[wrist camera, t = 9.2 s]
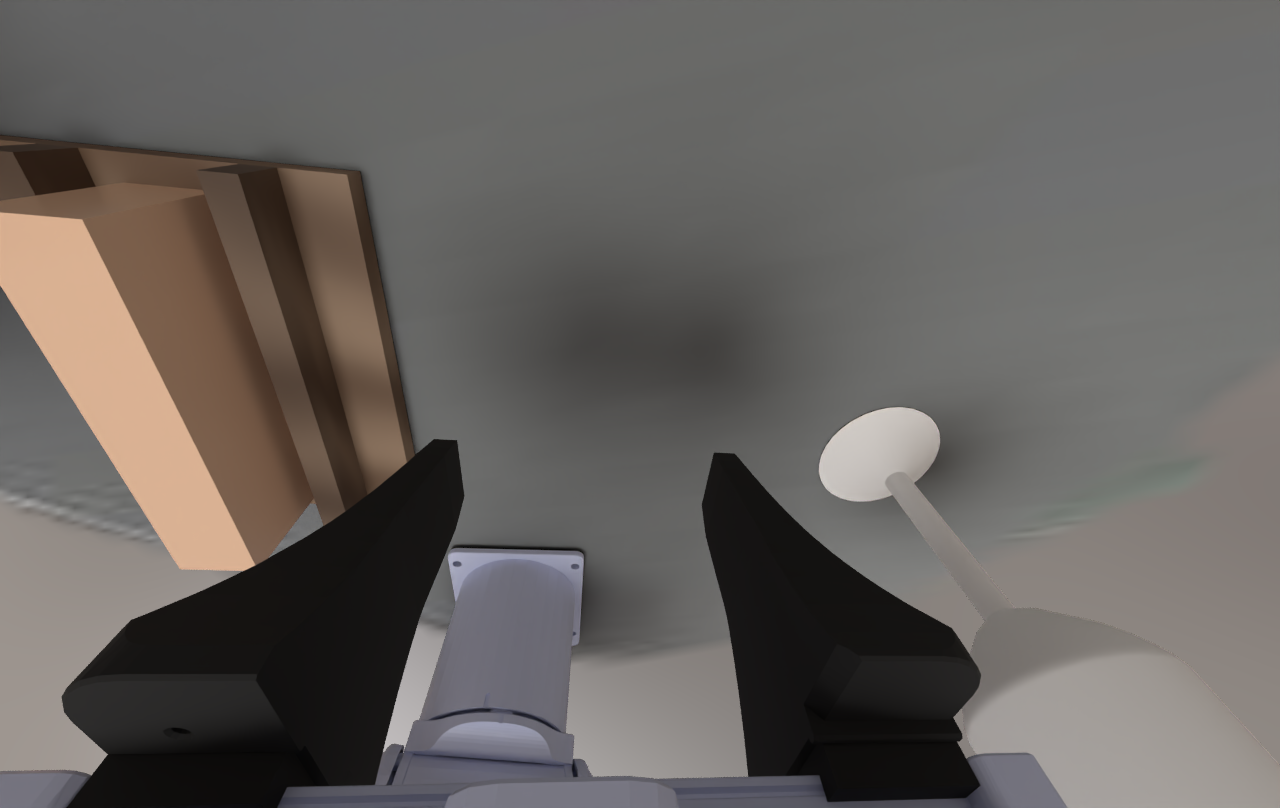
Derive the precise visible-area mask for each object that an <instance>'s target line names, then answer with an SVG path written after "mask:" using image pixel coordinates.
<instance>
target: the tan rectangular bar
mask: <svg viewBox="0 0 1280 808" xmlns="http://www.w3.org/2000/svg"><path fill="white" fill-rule="evenodd" d="M0 286H1V287H2V289H3V290H4V292H5V294H6V295H7V297H8V298H9V300H10V301H11V303H12V305H13V306H14V308H15V309H16V311H17V312H18V314H19V316H20V317H21V319H22V320H23V322H24V324H25V325H26V327H27V328H28V330H29V331H30V333H31V335H32V336H33V338H34V339H35V341H36V342H37V344H38V346H39V347H40V349H41V350H42V352H43V354H44V355H45V357H46V358H47V360H48V361H49V363H50V365H51V366H52V368H53V369H54V371H55V372H56V374H57V376H58V377H59V379H60V380H61V382H62V384H63V385H64V387H65V388H66V390H67V391H68V393H69V395H70V396H71V398H72V399H73V401H74V403H75V404H76V406H77V407H78V409H79V410H80V412H81V414H82V415H83V417H84V418H85V420H86V421H87V423H88V425H89V426H90V428H91V429H92V431H93V433H94V434H95V436H96V437H97V439H98V440H99V442H100V444H101V445H102V447H103V448H104V450H105V451H106V453H107V455H108V456H109V458H110V459H111V461H112V463H113V464H114V466H115V467H116V469H117V470H118V472H119V474H120V475H121V477H122V478H123V480H124V481H125V483H126V485H127V486H128V488H129V489H130V491H131V493H132V494H133V496H134V497H135V499H136V500H137V502H138V504H139V505H140V507H141V508H142V510H143V511H144V513H145V515H146V516H147V518H148V519H149V521H150V523H151V524H152V526H153V527H154V529H155V530H156V532H157V534H158V535H159V537H160V538H161V540H162V542H163V543H164V545H165V546H166V548H167V549H168V551H169V553H170V554H171V556H172V557H173V559H174V560H175V562H176V563H177V565H178V567H179V568H180V569H187V570H236V571H245V570H247V569H249V568H251V567H253V566H255V565H257V564H259V563H261V562H262V561H264V560H266V559H268V557H269V556H270V555H271V554H272V552H273V551H274V550H275V548H276V547H277V546H278V544H279V543H280V542H281V540H282V539H283V538H284V537H285V535H286V534H287V533H288V531H289V530H290V529H291V527H292V526H293V525H294V523H295V522H296V521H297V520H298V518H299V517H300V516H301V514H302V513H303V512H304V510H305V509H306V508H307V506H308V505H309V504H310V503H311V501H312V500H313V499H314V497H313V494H312V491H311V489H310V486H309V483H308V480H307V478H306V475H305V472H304V469H303V466H302V464H301V461H300V458H299V455H298V453H297V450H296V447H295V444H294V442H293V439H292V436H291V433H290V430H289V428H288V425H287V422H286V419H285V417H284V414H283V411H282V408H281V405H280V403H279V400H278V397H277V394H276V392H275V389H274V386H273V383H272V380H271V378H270V375H269V372H268V369H267V367H266V364H265V361H264V358H263V355H262V353H261V350H260V347H259V344H258V342H257V339H256V336H255V333H254V331H253V328H252V325H251V322H250V319H249V317H248V314H247V311H246V308H245V306H244V303H243V300H242V297H241V294H240V292H239V289H238V286H237V283H236V281H235V278H234V275H233V272H232V269H231V267H230V264H229V261H228V258H227V256H226V253H225V250H224V247H223V244H222V242H221V239H220V236H219V233H218V231H217V228H216V225H215V222H214V220H213V217H212V214H211V211H210V208H209V206H208V203H207V200H206V197H205V195H204V192H203V190H198V189H188V188H177V187H166V186H156V185H145V184H134V183H117V184H111V185H104V186H97V187H90V188H84V189H77V190H70V191H64V192H57V193H50V194H43V195H37V196H30V197H23V198H16V199H10V200H3V201H0Z"/></svg>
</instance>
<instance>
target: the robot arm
mask: <svg viewBox="0 0 1280 808" xmlns="http://www.w3.org/2000/svg"><path fill="white" fill-rule="evenodd" d="M463 499H464V490H463V482H462V475H461V467H460V460H459V452H458V444H457V440H439V439H434V440H433V441H431V442H430V443H429V444H428V445H427V446H425V447H424V448H423V449H422V450H421V451H420V452H418V453H417V454H416V455H415V456H414V457H413V458H411V459H410V460H409V461H408V462H407V463H406V464H405V465H403V466H402V467H401V468H400V469H399V470H398V471H396V472H395V473H394V474H393V475H392V476H390V477H389V478H388V479H387V480H385V481H384V482H383V483H382V484H381V485H379V486H378V487H377V488H376V489H374V490H373V491H372V492H371V493H369V494H368V495H367V496H365V497H364V498H363V499H361V500H360V501H359V502H357V503H356V504H355V505H353V506H352V507H351V508H349V509H348V510H347V511H345V512H344V513H342V514H341V515H339V516H338V517H336V518H335V519H333V520H332V521H331V522H329V523H327V524H326V525H324V526H323V527H321V528H320V529H318V530H316V531H315V532H313V533H312V534H310V535H308V536H307V537H305V538H304V539H302V540H300V541H298V542H297V543H295V544H293V545H291V546H289V547H288V548H286V549H284V550H282V551H280V552H279V553H277V554H275V555H273V556H271V557H270V558H268V559H266V560H264V561H262V562H261V563H259V564H257V565H255V566H253V567H251V568H249V569H247V570H245V571H243V572H241V573H239V574H237V575H235V576H233V577H230V578H228V579H226V580H224V581H222V582H220V583H218V584H216V585H213V586H211V587H209V588H207V589H205V590H203V591H200V592H198V593H196V594H193V595H191V596H189V597H187V598H184V599H182V600H179V601H177V602H174V603H172V604H170V605H167V606H165V607H162V608H160V609H158V610H155V611H153V612H150V613H148V614H145V615H143V616H140V617H138V618H135V619H132V620H131V621H130V622H129V623H128V624H127V625H126V626H125V627H124V628H123V629H122V630H121V631H120V632H119V633H118V634H117V635H116V636H115V637H114V638H113V639H112V640H111V642H110V643H109V644H108V645H107V646H106V647H105V648H104V649H103V650H102V651H101V652H100V653H99V654H98V655H97V656H96V658H95V659H94V660H93V661H92V662H91V663H90V664H89V665H88V666H87V667H86V668H85V669H84V670H83V671H82V672H81V673H80V674H79V676H78V677H77V678H76V679H75V680H74V681H73V682H72V683H71V684H70V685H69V686H68V687H67V689H66V690H65V692H64V694H63V695H62V702H63V708H64V712H65V713H66V715H67V716H68V717H69V719H70V720H71V721H72V722H73V723H74V724H75V725H76V726H77V727H78V728H79V729H80V730H82V731H83V732H84V733H85V734H86V735H87V736H88V737H89V738H91V739H92V740H93V741H94V742H95V743H96V744H97V745H98V746H99V747H100V748H102V749H103V750H104V751H105V752H106V753H107V754H108V755H107V756H106V758H105V759H104V760H103V762H102V763H101V764H100V765H99V767H98V768H97V769H96V771H95V772H94V773H93V775H92V776H91V775H89V774H86V773H82V772H78V771H70V770H40V771H39V770H35V771H1V772H0V808H1068V807H1067V806H1066V804H1065V803H1064V801H1063V800H1062V798H1061V797H1060V795H1059V794H1058V792H1057V790H1056V789H1055V787H1054V786H1053V784H1052V783H1051V781H1050V780H1049V778H1048V777H1047V775H1046V774H1045V772H1044V771H1043V769H1042V768H1041V766H1040V765H1039V763H1038V762H1037V760H1036V758H1035V757H1034V756H1033V755H1032V754H1030V753H984V754H977V755H974V756H971V757H968V758H967V759H966V758H965V756H964V754H963V752H962V750H961V748H960V747H959V745H958V743H957V741H960V740H961V739H962V733H961V731H960V729H959V727H958V726H957V724H956V722H955V720H954V718H953V717H954V716H955V715H956V714H957V713H958V712H959V710H960V709H961V708H962V707H963V706H964V705H965V704H966V703H967V702H968V701H969V700H970V698H971V697H972V696H973V695H974V694H975V692H976V691H977V689H978V688H979V684H980V679H981V673H980V671H979V668H978V666H977V665H976V663H975V662H974V660H973V659H972V657H971V656H970V654H969V653H968V652H967V650H966V648H965V647H964V645H963V644H962V642H961V641H960V639H959V638H958V636H957V635H956V633H955V632H954V631H953V629H952V628H950V627H949V626H946V625H945V624H943V623H941V622H939V621H938V620H936V619H934V618H932V617H930V616H929V615H927V614H925V613H923V612H921V611H919V610H918V609H916V608H914V607H912V606H910V605H908V604H907V603H905V602H903V601H902V600H900V599H899V598H897V597H895V596H894V595H892V594H890V593H889V592H887V591H886V590H884V589H882V588H881V587H879V586H878V585H876V584H875V583H873V582H872V581H870V580H869V579H867V578H866V577H864V576H863V575H861V574H860V573H859V572H857V571H856V570H855V569H853V568H852V567H850V566H849V565H848V564H846V563H845V562H843V561H842V560H841V559H840V558H838V557H837V556H836V555H834V554H833V553H832V552H831V551H829V550H828V549H827V548H826V547H825V546H823V545H822V544H821V543H820V542H819V541H817V540H816V539H815V538H814V537H813V536H812V535H810V534H809V533H808V532H807V531H806V530H805V529H804V528H803V527H802V526H801V525H800V524H799V523H798V522H796V521H795V520H794V519H793V518H792V517H791V516H790V515H789V514H788V513H787V512H786V511H785V510H784V509H783V508H782V507H781V506H780V505H779V504H778V502H777V501H776V500H775V499H774V498H773V497H772V496H771V495H770V494H769V493H768V492H767V491H766V489H765V488H764V487H763V486H762V485H761V484H760V483H759V481H758V480H757V479H756V478H755V477H754V476H753V475H752V473H751V472H750V471H749V470H748V469H747V467H746V466H745V465H744V464H743V463H742V462H741V460H740V459H739V458H738V457H737V456H736V455H735V454H731V453H714V455H713V459H712V464H711V468H710V472H709V476H708V481H707V485H706V489H705V494H704V498H703V502H702V510H703V518H704V526H705V533H706V538H707V542H708V546H709V550H710V554H711V558H712V561H713V565H714V569H715V573H716V576H717V580H718V584H719V588H720V591H721V595H722V599H723V602H724V606H725V611H726V615H727V620H728V625H729V631H730V637H731V643H732V649H733V656H734V662H735V669H736V676H737V683H738V690H739V698H740V706H741V714H742V722H743V730H744V739H745V748H746V758H747V768H748V777H723V778H722V777H721V778H720V777H719V778H673V779H653V778H644V777H632V776H611V777H609V776H607V777H593V776H592V775H591V773H590V771H589V770H588V766H587V764H586V763H585V761H584V760H582V759H573V748H574V747H573V746H574V736H573V735H572V734H566V720H567V707H568V693H569V678H570V665H571V651H572V646H574V645H577V644H578V643H579V636H580V618H581V600H582V583H583V565H584V555H583V554H582V553H581V552H579V551H557V550H518V549H479V548H454V549H451V550H450V552H449V554H448V562H449V567H450V573H451V579H452V585H453V591H454V597H455V602H456V604H455V607H454V611H453V614H452V617H451V620H450V623H449V627H448V630H447V633H446V636H445V639H444V643H443V646H442V649H441V652H440V655H439V658H438V662H437V665H436V668H435V671H434V674H433V678H432V681H431V684H430V687H429V690H428V694H427V697H426V700H425V703H424V706H423V709H422V713H421V716H420V719H419V720H416V721H414V722H413V725H412V729H411V731H410V735H409V738H408V741H407V744H406V747H405V750H404V746H403V745H398V744H391V745H390V746H389V747H388V748H387V749H386V751H385V752H383V749H384V744H385V740H386V736H387V732H388V728H389V725H390V721H391V717H392V713H393V709H394V705H395V702H396V698H397V694H398V690H399V687H400V683H401V680H402V676H403V672H404V668H405V665H406V661H407V658H408V655H409V651H410V648H411V644H412V641H413V638H414V635H415V631H416V628H417V625H418V621H419V618H420V615H421V613H422V610H423V607H424V605H425V602H426V599H427V597H428V595H429V592H430V590H431V587H432V585H433V583H434V580H435V578H436V575H437V573H438V571H439V568H440V566H441V563H442V561H443V559H444V556H445V554H446V551H447V549H448V546H449V544H450V542H451V539H452V537H453V534H454V532H455V529H456V526H457V522H458V518H459V515H460V511H461V507H462V503H463ZM403 751H404V753H403Z"/></svg>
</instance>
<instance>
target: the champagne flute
mask: <svg viewBox="0 0 1280 808" xmlns="http://www.w3.org/2000/svg"><path fill="white" fill-rule="evenodd" d="M939 446H940V433H939V430H938V428H937V425H936V424H935V422H934V421H933V420H932V419H931V418H930V417H929V416H927V415H926V414H924V413H923V412H920V411H918V410H915V409H911V408H904V407H894V408H885V409H880V410H876V411H873V412H870V413H867V414H864V415H862V416H861V417H859V418H857V419H855V420H853V421H851V422H850V423H848V424H847V425H846V426H844V427H843V428H842V429H840V430H839V431H838V432H837V433H836V434H835V435H834V436H833V437H832V439H831V440H830V441H829V443H828V444H827V445H826V447H825V449H824V451H823V453H822V455H821V459H820V463H819V475H820V479H821V482H822V483H823V485H824V486H825V488H826V489H827V490H828V491H829V492H830V493H832V494H833V495H835V496H837V497H839V498H842V499H845V500H849V501H858V502H861V501H873V500H878V499H882V498H885V497H888V496H892V495H893V496H894V498H895V499H896V500H897V502H898V503H899V505H900V506H901V507H902V509H903V510H904V511H905V513H906V514H907V515H908V517H909V518H910V520H911V521H912V522H913V524H914V525H915V526H916V528H917V529H918V530H919V532H920V533H921V535H922V536H923V537H924V539H925V540H926V541H927V543H928V544H929V545H930V547H931V548H932V550H933V551H934V552H935V554H936V555H937V556H938V558H939V559H940V561H941V562H942V563H943V565H944V566H945V567H946V569H947V570H948V571H949V573H950V574H951V576H952V577H953V578H954V580H955V581H956V582H957V584H958V585H959V586H960V588H961V589H962V591H963V592H964V593H965V595H966V596H967V597H968V598H969V600H970V601H971V603H972V604H973V606H974V607H975V608H976V610H977V611H978V612H979V614H980V615H981V616H982V618H983V619H984V620H985V622H984V624H983V625H982V626H981V627H980V629H979V630H978V632H977V633H976V636H975V639H974V642H973V645H972V649H971V652H970V656H971V657H972V659H973V660H974V662H975V663H976V665H977V666H978V668H979V671H980V673H981V679H980V684H979V688H978V689H977V691H976V692H975V694H974V695H973V696H972V697H971V698H970V700H969V701H968V702H967V703H966V704H965V705H964V706H963V707H962V713H963V722H964V730H965V733H966V736H967V739H968V742H969V744H970V745H971V747H972V748H973V750H974V751H975V753H976V754H984V753H1030V754H1032V755H1033V756H1034V757H1035V758H1036V760H1037V762H1038V763H1039V765H1040V766H1041V768H1042V769H1043V771H1044V772H1045V774H1046V775H1047V777H1048V778H1049V780H1050V781H1051V783H1052V784H1053V786H1054V787H1055V789H1056V790H1057V792H1058V794H1059V795H1060V797H1061V798H1062V800H1063V801H1064V803H1065V804H1066V806H1067V807H1068V808H1280V764H1279V763H1278V762H1277V761H1276V760H1275V759H1274V758H1273V757H1272V755H1271V754H1270V753H1269V752H1268V751H1267V750H1266V749H1265V748H1264V747H1263V745H1262V744H1261V743H1260V742H1259V741H1258V740H1257V739H1256V738H1255V737H1254V736H1253V734H1252V733H1251V732H1250V731H1249V730H1248V729H1247V728H1246V727H1245V726H1244V725H1243V723H1242V722H1241V721H1240V720H1239V719H1238V718H1237V717H1236V716H1235V715H1234V713H1233V712H1232V711H1231V710H1230V709H1229V708H1228V707H1227V706H1226V705H1225V704H1224V702H1223V701H1222V700H1221V699H1220V698H1219V697H1218V696H1217V695H1216V694H1215V692H1214V691H1213V690H1212V689H1211V688H1210V687H1209V686H1208V685H1207V684H1206V683H1205V681H1204V680H1203V679H1202V678H1201V677H1200V676H1199V675H1198V674H1197V673H1196V672H1195V670H1194V669H1193V668H1192V667H1191V666H1190V665H1188V664H1187V663H1185V662H1184V661H1183V660H1181V659H1180V658H1178V657H1177V656H1176V655H1174V654H1172V653H1171V652H1169V651H1167V650H1166V649H1164V648H1162V647H1160V646H1158V645H1156V644H1153V643H1151V642H1149V641H1147V640H1145V639H1143V638H1141V637H1139V636H1137V635H1135V634H1132V633H1129V632H1126V631H1123V630H1121V629H1118V628H1115V627H1113V626H1109V625H1107V624H1104V623H1101V622H1097V621H1093V620H1088V619H1083V618H1079V617H1075V616H1070V615H1065V614H1060V613H1056V612H1051V611H1047V610H1042V609H1037V608H1015V607H1014V606H1013V605H1012V603H1011V602H1010V601H1009V600H1008V598H1007V597H1006V596H1005V595H1004V593H1003V592H1002V591H1001V590H1000V589H999V587H998V586H997V585H996V584H995V583H994V581H993V580H992V579H991V577H990V576H989V575H988V574H987V573H986V571H985V570H984V569H983V568H982V566H981V565H980V564H979V563H978V561H977V560H976V559H975V558H974V557H973V555H972V554H971V553H970V552H969V550H968V549H967V548H966V547H965V546H964V544H963V543H962V542H961V541H960V539H959V538H958V537H957V536H956V534H955V533H954V532H953V531H952V530H951V528H950V527H949V526H948V525H947V523H946V522H945V521H944V520H943V518H942V517H941V516H940V515H939V514H938V512H937V511H936V510H935V509H934V507H933V506H932V505H931V504H930V502H929V501H928V500H927V499H926V498H925V496H924V495H923V494H922V493H921V491H920V490H919V489H918V488H917V486H916V485H915V484H914V482H916V481H917V480H918V479H919V478H921V477H922V476H923V475H924V473H925V472H926V471H927V470H928V469H929V468H930V466H931V465H932V463H933V462H934V460H935V458H936V456H937V453H938V451H939Z"/></svg>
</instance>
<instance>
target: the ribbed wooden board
mask: <svg viewBox="0 0 1280 808" xmlns="http://www.w3.org/2000/svg"><path fill="white" fill-rule="evenodd" d="M117 183H134V184H145V185H156V186H166V187H177V188H188V189H198V190H203V192H204V195H205V197H206V200H207V203H208V206H209V208H210V211H211V214H212V217H213V220H214V222H215V225H216V228H217V231H218V233H219V236H220V239H221V242H222V244H223V247H224V250H225V253H226V256H227V258H228V261H229V264H230V267H231V269H232V272H233V275H234V278H235V281H236V283H237V286H238V289H239V292H240V294H241V297H242V300H243V303H244V306H245V308H246V311H247V314H248V317H249V319H250V322H251V325H252V328H253V331H254V333H255V336H256V339H257V342H258V344H259V347H260V350H261V353H262V355H263V358H264V361H265V364H266V367H267V369H268V372H269V375H270V378H271V380H272V383H273V386H274V389H275V392H276V394H277V397H278V400H279V403H280V405H281V408H282V411H283V414H284V417H285V419H286V422H287V425H288V428H289V430H290V433H291V436H292V439H293V442H294V444H295V447H296V450H297V453H298V455H299V458H300V461H301V464H302V466H303V469H304V472H305V475H306V478H307V480H308V483H309V486H310V489H311V491H312V494H313V497H314V499H313V500H312V501H311V503H312V504H316V505H317V508H318V511H319V514H320V516H321V519H322V522H323V525H326V524H327V523H329V522H331V521H332V520H333V519H335V518H336V517H338V516H339V515H341V514H342V513H344V512H345V511H347V510H348V509H349V508H351V507H352V506H353V505H355V504H356V503H357V502H359V501H360V500H361V499H363V498H364V497H365V496H367V495H368V494H369V493H371V492H372V491H373V490H374V489H376V488H377V487H378V486H379V485H381V484H382V483H383V482H384V481H385V480H387V479H388V478H389V477H390V476H392V475H393V474H394V473H395V472H396V471H398V470H399V469H400V468H401V467H402V466H403V465H405V464H406V463H407V462H408V461H409V460H410V459H411V458H413V457H414V456H415V453H414V448H413V443H412V437H411V432H410V427H409V422H408V417H407V412H406V407H405V401H404V396H403V391H402V386H401V381H400V376H399V370H398V365H397V360H396V355H395V350H394V345H393V339H392V334H391V329H390V324H389V319H388V314H387V309H386V303H385V298H384V293H383V288H382V283H381V278H380V272H379V267H378V262H377V257H376V252H375V247H374V241H373V236H372V231H371V226H370V221H369V216H368V210H367V205H366V200H365V195H364V190H363V185H362V180H361V174H360V171H350V170H341V169H331V168H321V167H311V166H301V165H291V164H281V163H271V162H261V161H251V160H241V159H232V158H222V157H212V156H202V155H192V154H182V153H172V152H162V151H152V150H142V149H132V148H123V147H113V146H103V145H93V144H83V143H73V142H63V141H53V140H43V139H33V138H23V137H14V136H4V135H0V201H3V200H10V199H16V198H23V197H30V196H37V195H43V194H50V193H57V192H64V191H70V190H77V189H84V188H90V187H97V186H104V185H111V184H117Z"/></svg>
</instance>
